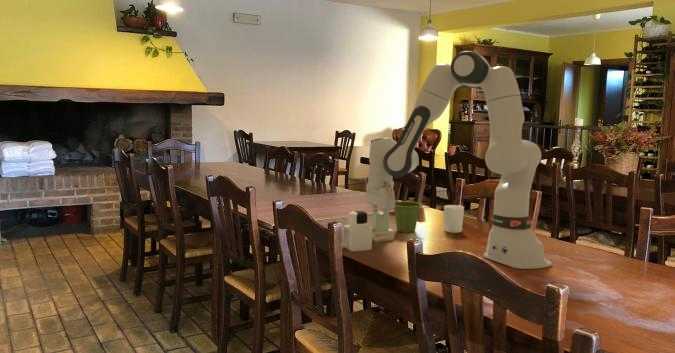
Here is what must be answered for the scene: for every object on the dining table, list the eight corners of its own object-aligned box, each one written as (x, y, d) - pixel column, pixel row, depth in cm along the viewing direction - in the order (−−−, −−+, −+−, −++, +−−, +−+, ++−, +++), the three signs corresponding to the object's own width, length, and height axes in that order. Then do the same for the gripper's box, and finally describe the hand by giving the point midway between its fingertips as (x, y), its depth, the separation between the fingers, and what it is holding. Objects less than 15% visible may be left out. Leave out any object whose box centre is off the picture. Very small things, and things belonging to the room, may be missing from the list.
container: (363, 244, 193) (363, 209, 191) (372, 250, 185) (372, 213, 184) (343, 246, 190) (343, 210, 188) (351, 252, 183) (352, 214, 181)
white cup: (463, 233, 212) (464, 208, 211) (443, 232, 214) (444, 207, 212) (462, 229, 220) (463, 205, 218) (443, 228, 221) (444, 204, 220)
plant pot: (385, 229, 218) (386, 202, 216) (409, 227, 223) (410, 200, 222) (401, 235, 207) (402, 207, 206) (426, 233, 213) (427, 205, 211)
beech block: (393, 240, 201) (394, 230, 200) (375, 243, 197) (375, 232, 196) (382, 236, 208) (382, 226, 207) (364, 238, 204) (364, 228, 203)
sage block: (388, 230, 200) (389, 214, 199) (376, 231, 199) (376, 215, 198) (384, 227, 205) (384, 212, 204) (371, 228, 203) (372, 212, 203)
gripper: (399, 184, 190) (398, 222, 192) (378, 177, 210) (378, 212, 211) (383, 184, 188) (382, 223, 190) (363, 177, 208) (363, 212, 210)
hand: (380, 217), depth 201 cm, fingers open, 8 cm apart
